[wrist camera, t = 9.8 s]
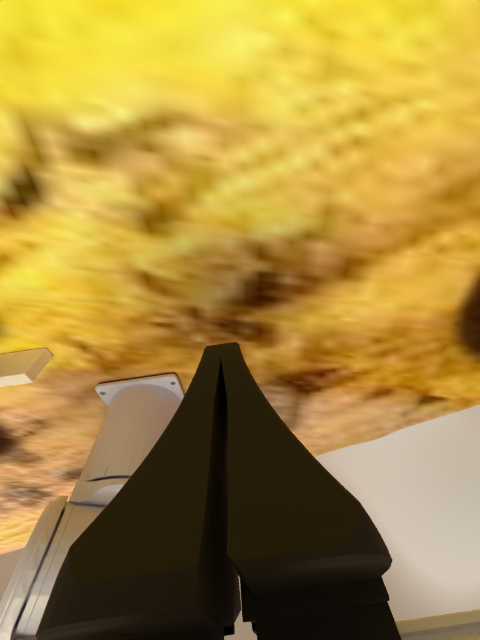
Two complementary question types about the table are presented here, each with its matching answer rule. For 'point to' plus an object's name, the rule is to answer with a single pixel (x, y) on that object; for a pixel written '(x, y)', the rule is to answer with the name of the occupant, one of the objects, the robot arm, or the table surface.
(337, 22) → the table surface
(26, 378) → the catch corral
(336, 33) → the table surface
